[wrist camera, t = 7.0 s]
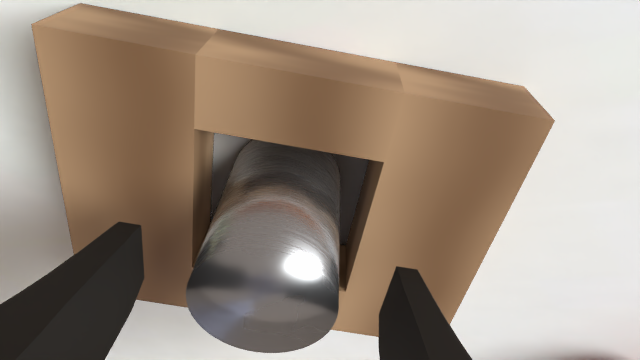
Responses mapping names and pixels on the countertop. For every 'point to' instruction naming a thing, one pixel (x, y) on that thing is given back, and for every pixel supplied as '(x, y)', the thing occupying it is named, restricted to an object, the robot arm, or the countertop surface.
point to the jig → (282, 128)
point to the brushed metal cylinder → (271, 251)
